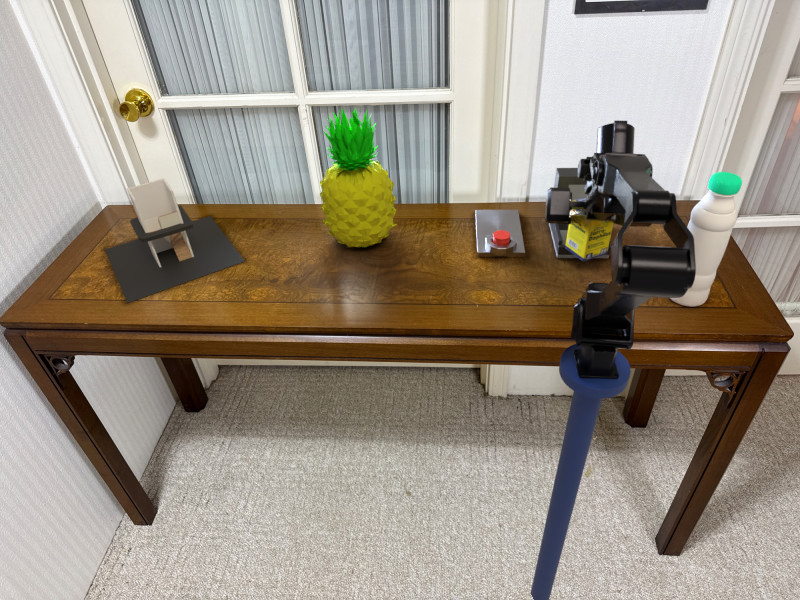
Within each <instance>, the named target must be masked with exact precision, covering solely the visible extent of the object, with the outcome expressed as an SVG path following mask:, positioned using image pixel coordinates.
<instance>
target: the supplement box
mask: <svg viewBox="0 0 800 600" xmlns="http://www.w3.org/2000/svg"><path fill="white" fill-rule="evenodd" d="M585 199H586V197H584V198H580V199H576V200H573V201H574V202H585ZM573 210H577V211H578V210H579V209H572V211H573ZM579 211H580V210H579ZM581 211H582V210H581ZM586 218H587V216H580V215H572V216H571V224H569V227H568V233H567V239H566V245H565V248H566V249H567V250H568V251H570V252H571V253H572V254H574V255H575V256H576V257H578V258H577V259H579V260H581V261H582V262H583V263H584V262H588V261H590V260H592V259H596V258H595V257H598V256H602V255H606V254H607V251H608V246H609V242H610V240H611V237H612V233H613V227H614V225H615V224H614V221H595V220H586Z"/></svg>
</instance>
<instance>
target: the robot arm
mask: <svg viewBox="0 0 800 600" xmlns="http://www.w3.org/2000/svg"><path fill="white" fill-rule="evenodd" d="M635 129H636V128H635V127H634V125H632V124H630V123H628V120H614V121H613V122H611V123H607V124H604V125H601V126H599V127H598V128H597V131H596V133H597V134H596V151H595V152H593V155H592V156H586V158H580V160H579V161H578V164H577V168H578V178H583V179H584V181H587V184H586V186H585V194H587V197H586V199H585V202H574V201H572V192H570V188H554V187H553V186H552V187H550V188H549V189H547V190H546V193H545V209H544V210H545V211H544V212H545V213H544V221H545V223H547V224H549V223H555V224H571V216H572V215H580V216H587V218H586V220H595V221H614V224H613V225H619V226H621V228H620V229H619V230H618V232H617V234H616V236H615V238H614V240H613V242H612V245H611V249H610V254H611V255H610V257H611V258H610V266H611V268H610V270H611V281H610V282H609V283H608V282H594V281H593V282H590V283H588V285H587V286H585V290H584V291H583V293H582V294H581V297H578V299H577V301H576V303H575V305H573V310H572V325H571V332H570V338H571V339H572V340H573V341H574V342H575V344H576V346H580V345H581V349H575V350H573V355H574V359H575V364H576V368H577V373H578V376H579V378H590V379H618V378H619V374H618V370H617V367H616V364H615V359H616V355H617V351H618V352H619V349H622V350H626V351H631V349H632V348H633V346H634V337H635V336H634V334H635V314H636V313H635V312H636V309H638V308H639V307H640V306H642V305H643V304H645V303H647V302H648V301H649V300H651V299H670V298H681V297H683V296H684V295H685V294H686V292H687V290H688V289H689V288H691V287H692V285H693V283H694V280H695V274H696V263H695V247H694V237H693V235H692V233H691V232H690V231H689V229H688V228H687V226H688V225H686V224H685V222H684V221H683V220H682V217H680V215H679V214H678V209H677V198H676V193H674V192H670V191H669V190H666V189H665V188H663V187H662V186H661V185H660V184H659V183H658V182H657V181H656V180H655V179H654V178H653V173H654V172H653V171H654V170H653V169H654V168H653V164H652V162H651V161H650V159H649V157H648V156H647V155H646V154H644V153H634V152H635V151H634V150H635ZM572 209H579V210H580V211H579V210H578V211H577V210H573V211H572ZM581 210H582V211H581ZM653 224H654V225H662V228H663V231H664V232H665V234H667V236H668V238H669V239H670V240H671V242H672V243H673V244H674V246H657V245H635V244H624V243H623V238H624V236H625V234H627V232H628V230H629V229H630V227H632V228H633V227H642V228H643V227H644V228H645V227H648V228H650V227H651V226H653ZM623 244H624V245H623Z"/></svg>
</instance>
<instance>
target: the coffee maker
mask: <svg viewBox="0 0 800 600" xmlns="http://www.w3.org/2000/svg"><path fill="white" fill-rule="evenodd" d="M586 184H587V181H584V179H583V178H578V167H556V168H555V176H554V184H553V188H570V192H572V201H573V200H576V199H580V198H584V197H587V194H585V186H586ZM548 226H549V230H550V234H551V238H552V242H553V247H554V251H555V256H556V258H557V259H579V258H578V257H576V256H575V255H574V254H572V253H571V252H570V251H568V250H567V249H566V248H565V245H566V239H567V233H568V227H569V224H555V223H548ZM611 243H612V239H610V242H609V246H608V251H607V254H606V255H602V256H598V257H595V258H594V259H609V257H610V254H611V247H612V245H611Z"/></svg>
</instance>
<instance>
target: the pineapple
mask: <svg viewBox="0 0 800 600" xmlns="http://www.w3.org/2000/svg"><path fill="white" fill-rule="evenodd" d="M331 112H332V114H333V116H334V120H333V119H332V118H331V117H330V115H327V117H328V118H329V119H328V118H326V120H327V121H328V124H329V127H328V126H326V125H324V124H323V126H324V127H325V128H326V129H327V131H328V132H326V131H324V130H322V132H323V133H324V136H325V137H326V139H327V140H328V142H329V143H328V146H329V147H328V146H326V149H327V150H328V152H329V153H330V154H329V153H326V152H325V154H326V156H328V157H329V158H331V159H332V160H333V161H330V163H331V164H333V165H332V166H330V167H329V168H328V167H327V169H326V170H325V173H324V177H323V178H322V180H319V185H320V187H321V192H320V193H319V196H320V197H321V200H322V203H320V209H321V210H322V212H323V214H324V216H325V218H324V219H323V220H322V223H323V224H324V225H325V226H326V227H327V228H328V229H329V231H327V233H328V234H329V235H331V236H332V237H334V238H335V239H336V240H335V241H336V242H337V243H339V244H340V245H341V244H342V245H346V247H347V248H354V247H355V248H361V247H362V248H367V247H369V246H371V247H373V246H374V245H375V244H380V243H382V240H383V239H385V238H387V237H389V236H390V233H389V232H390V231H391V229H393V228H394V227H396V226H397V224H396V223H394V217H395V215H396V212H397V209H396V208H395V202H396V201H397V200H396V199H397V197H396V196H395V195H394V194H393V191H394V187H395V182H394V181H393V180H392V179H391V178H390V175H389V171H388V170H387V169H385V168H384V167H383V166H382V164H381V163H380V161H379V160H376V159H375V158H377V157H378V152H376V150H377V149H378V147H379V145H376V146H375V144H374V136H375V131H376V129H377V128H378V127H376V125H377V123H374V124H373V126H372V120H371V116H372V114H370V115H369V117H368V110H366V111H365V112H364V115H363V119H362V121H361V120H360V118H359V115H358V112H357V107H356V106H355V108H354V110H352V111H351V113H352V117H349V118H348V117H347V115H346V113H345V109H344V108H342V109H341V111H338V117H337V115H336V113H335V112H333V111H331ZM375 127H376V128H375Z"/></svg>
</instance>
